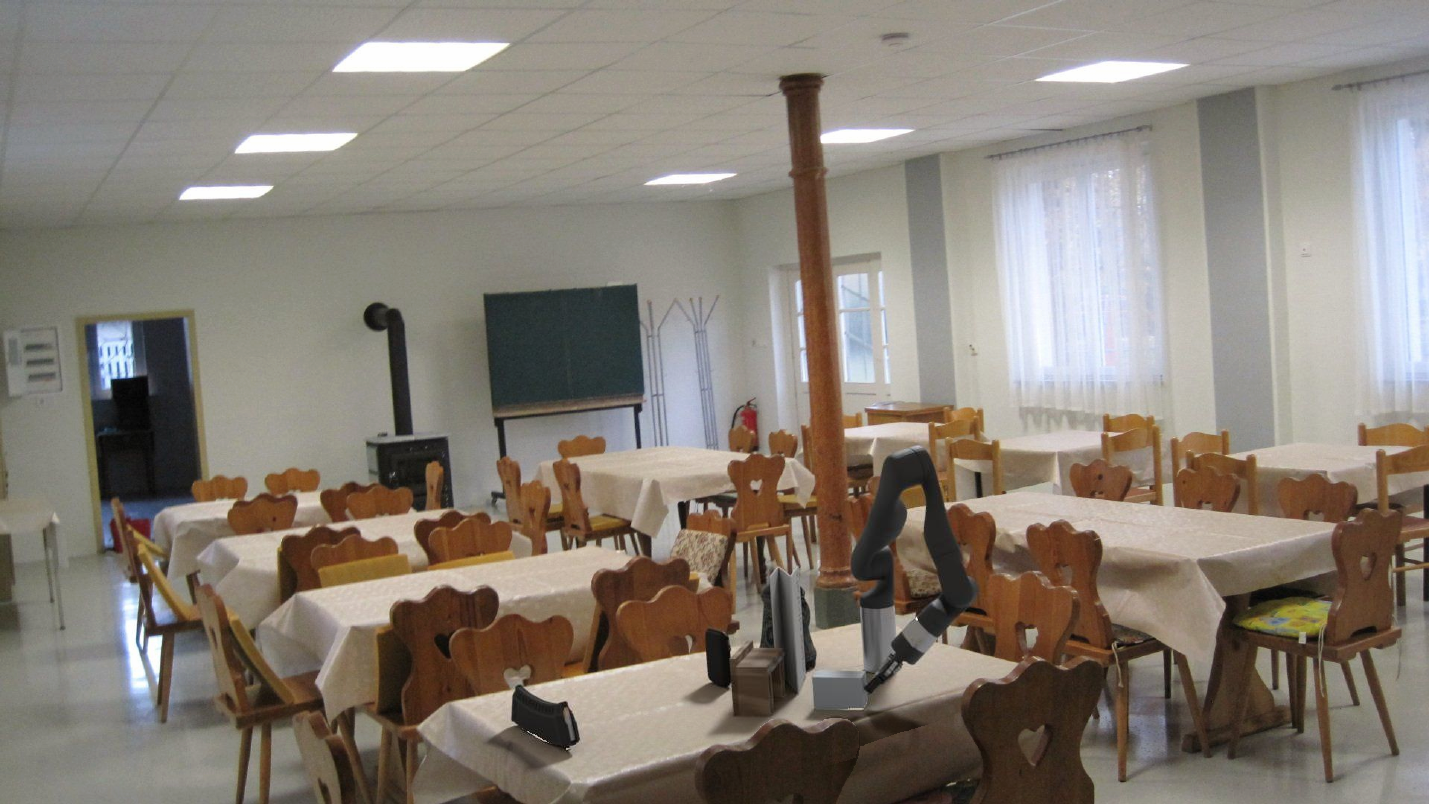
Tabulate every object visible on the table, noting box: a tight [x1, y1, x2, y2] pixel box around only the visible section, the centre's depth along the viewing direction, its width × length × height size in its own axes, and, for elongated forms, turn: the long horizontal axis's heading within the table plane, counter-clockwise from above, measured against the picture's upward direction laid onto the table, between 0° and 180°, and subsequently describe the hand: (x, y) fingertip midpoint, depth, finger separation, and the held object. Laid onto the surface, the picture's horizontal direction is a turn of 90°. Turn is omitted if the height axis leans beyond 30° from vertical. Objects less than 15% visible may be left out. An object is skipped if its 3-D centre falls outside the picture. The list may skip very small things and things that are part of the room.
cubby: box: [729, 639, 786, 718], centre depth 303 cm, size 18×10×14 cm, turn 165°
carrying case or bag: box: [704, 627, 732, 688], centre depth 323 cm, size 11×3×15 cm, turn 33°
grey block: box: [811, 669, 869, 711], centre depth 297 cm, size 6×12×8 cm, turn 72°
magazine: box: [510, 683, 581, 749], centre depth 289 cm, size 17×3×30 cm
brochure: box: [769, 565, 807, 695], centre depth 318 cm, size 14×6×30 cm, turn 168°
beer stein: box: [758, 583, 818, 671], centre depth 337 cm, size 16×19×25 cm
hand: (867, 690), depth 296 cm, fingers closed
